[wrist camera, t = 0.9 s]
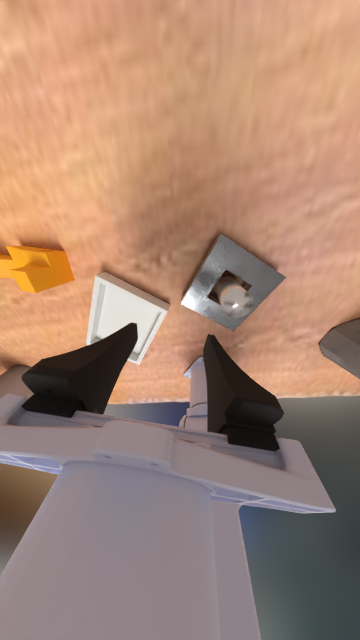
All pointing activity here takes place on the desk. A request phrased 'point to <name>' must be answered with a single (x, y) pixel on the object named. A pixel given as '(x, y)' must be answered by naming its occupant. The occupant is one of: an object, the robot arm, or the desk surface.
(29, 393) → the pillar candle
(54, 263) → the pipe clamp
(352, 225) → the desk surface
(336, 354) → the coffeepot
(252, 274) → the socket block
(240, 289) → the pin
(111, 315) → the tray
